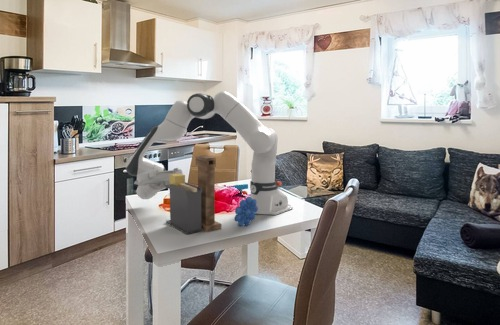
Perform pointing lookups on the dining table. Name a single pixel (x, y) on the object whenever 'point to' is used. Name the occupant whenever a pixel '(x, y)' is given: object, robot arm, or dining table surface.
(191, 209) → the cradle
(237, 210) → the grapes
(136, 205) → the dining table surface
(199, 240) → the dining table surface
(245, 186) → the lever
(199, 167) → the stand
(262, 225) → the dining table surface
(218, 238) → the dining table surface
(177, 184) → the yellow rectangular bar
